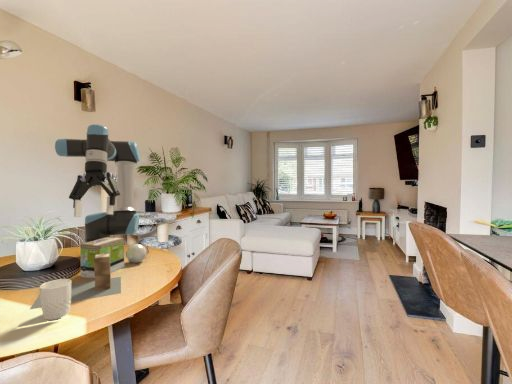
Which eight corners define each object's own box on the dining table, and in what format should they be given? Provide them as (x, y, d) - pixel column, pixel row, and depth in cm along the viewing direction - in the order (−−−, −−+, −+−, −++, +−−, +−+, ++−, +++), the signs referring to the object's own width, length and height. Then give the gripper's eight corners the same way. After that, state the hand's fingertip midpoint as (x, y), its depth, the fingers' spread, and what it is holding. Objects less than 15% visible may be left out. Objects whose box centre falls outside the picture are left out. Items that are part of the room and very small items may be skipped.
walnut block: (110, 283, 105) (109, 253, 105) (110, 288, 101) (109, 256, 100) (96, 286, 103) (95, 254, 102) (95, 290, 99) (93, 258, 98)
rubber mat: (120, 278, 113) (120, 276, 113) (121, 294, 97) (121, 292, 97) (43, 289, 101) (43, 288, 101) (29, 310, 85) (29, 309, 85)
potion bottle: (129, 268, 129) (140, 262, 144) (146, 256, 130) (155, 251, 145) (118, 253, 129) (130, 248, 144) (135, 241, 130) (145, 237, 145)
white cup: (54, 308, 86) (53, 278, 86) (78, 309, 86) (77, 278, 86) (33, 321, 78) (32, 288, 78) (59, 322, 78) (58, 289, 78)
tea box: (100, 280, 111) (99, 245, 110) (80, 278, 113) (79, 243, 112) (125, 268, 125) (124, 237, 125) (106, 266, 127) (105, 236, 127)
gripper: (60, 163, 105) (56, 216, 101) (118, 156, 102) (116, 211, 98) (75, 168, 112) (72, 218, 108) (130, 162, 109) (129, 213, 105)
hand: (93, 215), depth 103 cm, fingers open, 13 cm apart
